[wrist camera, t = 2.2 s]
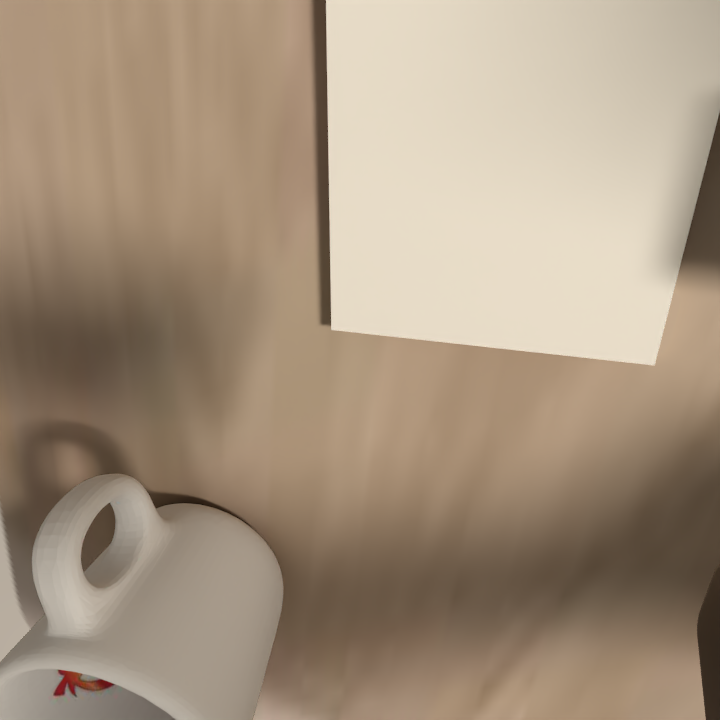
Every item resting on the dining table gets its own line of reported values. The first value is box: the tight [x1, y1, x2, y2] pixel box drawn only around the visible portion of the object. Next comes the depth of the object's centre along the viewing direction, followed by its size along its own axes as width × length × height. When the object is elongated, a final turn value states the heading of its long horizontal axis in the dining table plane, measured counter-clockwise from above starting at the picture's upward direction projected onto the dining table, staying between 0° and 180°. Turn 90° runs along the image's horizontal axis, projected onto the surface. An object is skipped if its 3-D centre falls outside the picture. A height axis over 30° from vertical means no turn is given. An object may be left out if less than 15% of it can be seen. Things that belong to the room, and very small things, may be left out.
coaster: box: [326, 0, 720, 365], centre depth 17 cm, size 9×9×1 cm
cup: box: [0, 474, 283, 720], centre depth 23 cm, size 11×8×8 cm
